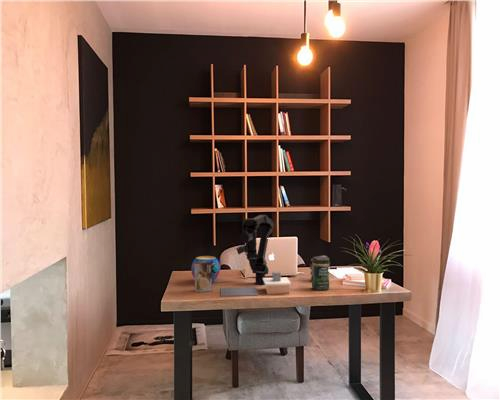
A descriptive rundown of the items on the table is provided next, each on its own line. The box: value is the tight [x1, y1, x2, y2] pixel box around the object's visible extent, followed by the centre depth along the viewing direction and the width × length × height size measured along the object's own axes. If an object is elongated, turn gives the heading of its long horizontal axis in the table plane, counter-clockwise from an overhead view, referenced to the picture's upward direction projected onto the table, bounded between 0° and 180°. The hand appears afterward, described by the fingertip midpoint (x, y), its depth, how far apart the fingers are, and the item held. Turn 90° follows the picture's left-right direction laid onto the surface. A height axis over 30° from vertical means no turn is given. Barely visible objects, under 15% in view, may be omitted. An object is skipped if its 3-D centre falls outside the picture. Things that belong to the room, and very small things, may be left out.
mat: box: [220, 286, 259, 297], centre depth 233 cm, size 17×20×1 cm
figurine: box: [309, 255, 330, 280], centre depth 259 cm, size 9×12×15 cm
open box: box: [264, 285, 290, 295], centre depth 235 cm, size 12×12×5 cm
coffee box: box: [194, 261, 213, 293], centre depth 237 cm, size 9×6×16 cm
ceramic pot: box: [191, 255, 221, 282], centre depth 257 cm, size 18×18×15 cm
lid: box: [263, 271, 292, 287], centre depth 234 cm, size 14×14×6 cm
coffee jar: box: [311, 255, 331, 291], centre depth 239 cm, size 10×8×19 cm
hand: (251, 268), depth 239 cm, fingers open, 9 cm apart
